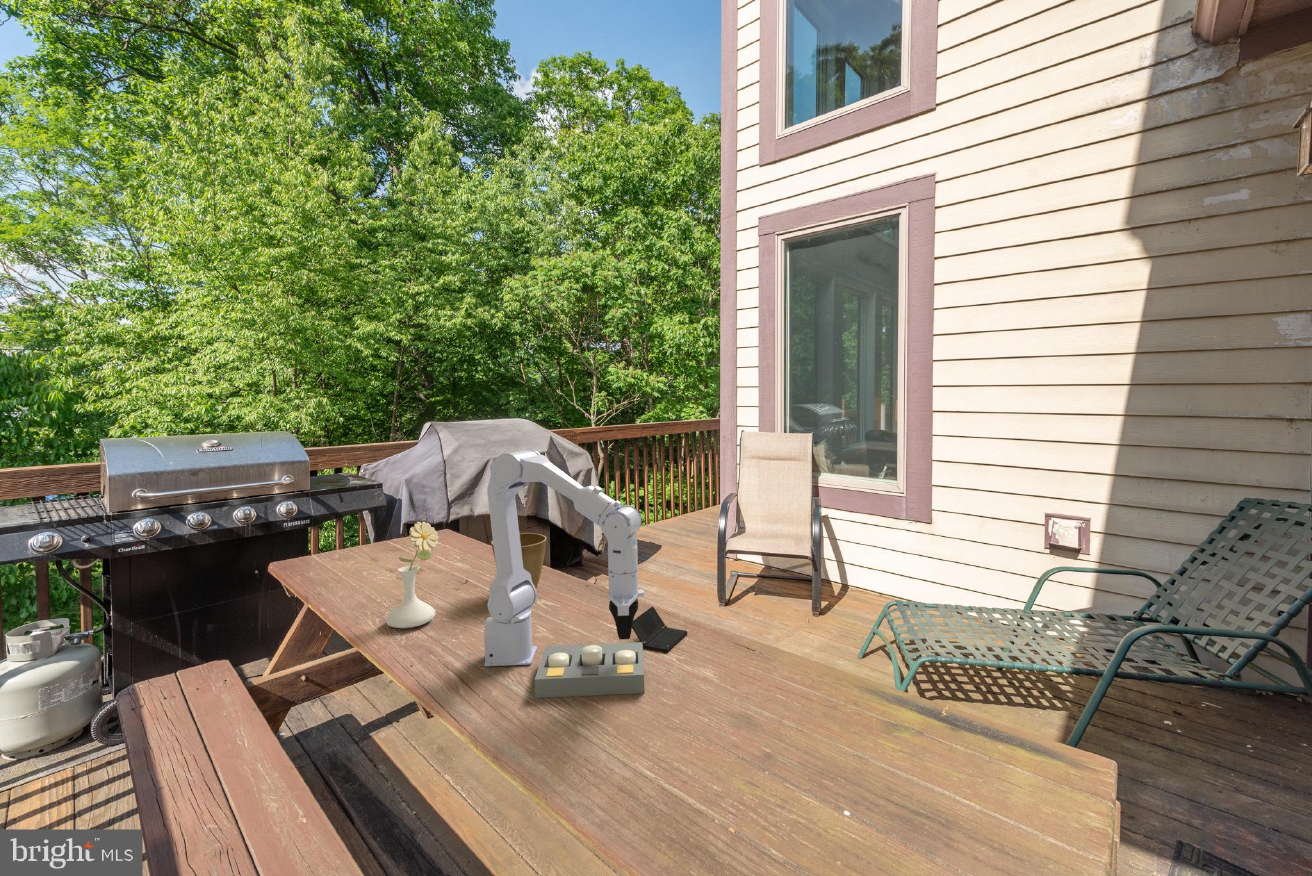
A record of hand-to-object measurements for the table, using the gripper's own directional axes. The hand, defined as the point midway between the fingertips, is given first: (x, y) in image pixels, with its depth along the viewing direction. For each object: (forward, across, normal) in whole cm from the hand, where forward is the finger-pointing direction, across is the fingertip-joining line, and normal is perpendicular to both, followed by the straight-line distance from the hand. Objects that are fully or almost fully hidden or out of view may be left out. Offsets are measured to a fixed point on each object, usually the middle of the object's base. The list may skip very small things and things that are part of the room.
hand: (624, 638), depth 111 cm
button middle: (+5, 0, +6) cm, 8 cm away
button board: (+8, 0, +6) cm, 10 cm away
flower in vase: (+8, +32, +52) cm, 62 cm away
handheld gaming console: (+8, +16, -8) cm, 19 cm away
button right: (+6, 0, 0) cm, 6 cm away
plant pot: (+8, +49, +29) cm, 58 cm away
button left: (+6, 0, +13) cm, 14 cm away
